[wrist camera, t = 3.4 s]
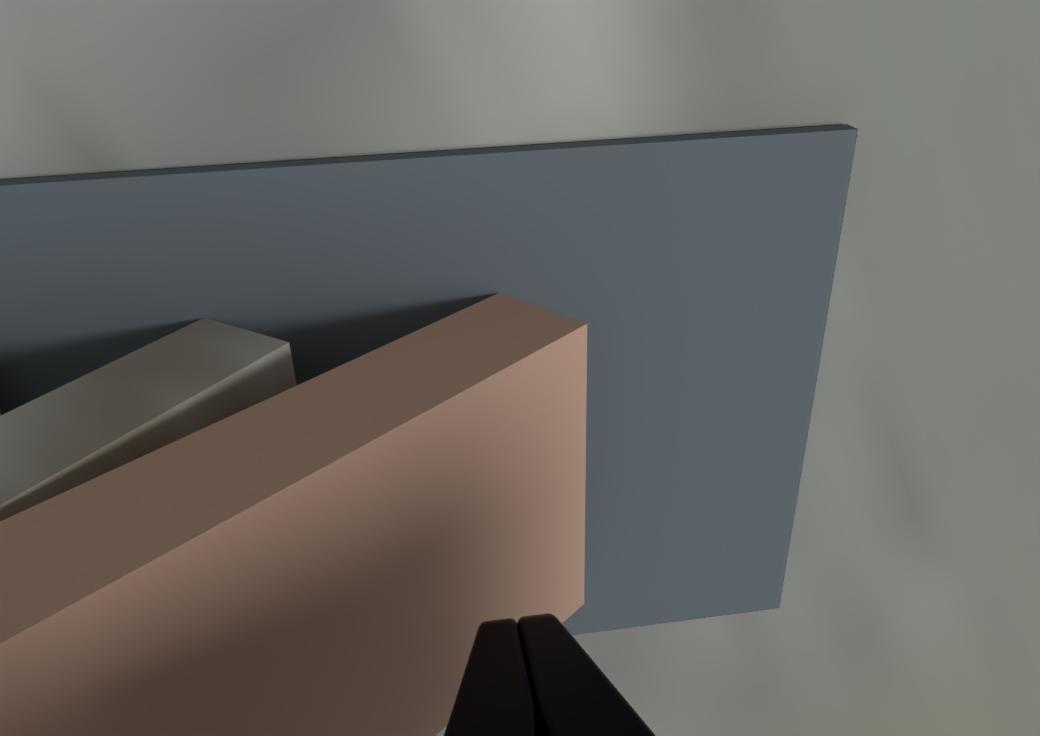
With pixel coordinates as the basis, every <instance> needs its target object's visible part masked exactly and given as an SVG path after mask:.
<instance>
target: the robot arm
mask: <svg viewBox="0 0 1040 736" xmlns="http://www.w3.org/2000/svg"><path fill="white" fill-rule="evenodd" d="M444 736H655V734H654V733H653V732H652V731H651V730H650V729H649V727H648V726H647V725H646V724H645V723H644V721H643V720H642V719H641V718H640V717H639V715H638V714H637V713H636V712H635V711H634V709H633V708H632V707H631V706H630V705H629V703H628V702H627V701H626V700H625V699H624V697H623V696H622V695H621V694H620V693H619V691H618V690H617V689H616V688H615V687H614V685H613V684H612V683H611V682H610V681H609V679H608V678H607V677H606V676H605V675H604V673H603V672H602V671H601V670H600V669H599V667H598V666H597V665H596V664H595V663H594V661H593V660H592V659H591V658H590V657H589V655H588V654H587V653H586V652H585V651H584V650H583V648H582V647H581V646H580V645H579V644H578V642H577V641H576V640H575V639H574V638H573V636H572V635H571V634H570V633H569V632H568V630H567V629H566V628H565V627H564V626H563V624H562V623H561V622H560V621H559V620H558V619H557V617H556V616H554V615H553V614H550V613H546V614H538V615H530V616H523V617H521V618H520V619H519V620H518V622H516V621H515V619H513V618H506V619H498V620H490V621H484V622H482V623H481V624H480V626H479V627H478V630H477V633H476V636H475V639H474V643H473V646H472V649H471V652H470V655H469V658H468V661H467V665H466V668H465V671H464V674H463V677H462V680H461V684H460V687H459V690H458V693H457V696H456V699H455V702H454V706H453V709H452V712H451V715H450V718H449V721H448V725H447V728H446V731H445V734H444Z"/></svg>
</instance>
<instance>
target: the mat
mask: <svg viewBox="0 0 1040 736" xmlns="http://www.w3.org/2000/svg"><path fill="white" fill-rule="evenodd" d="M857 132H858V129H857V128H854V127H852V126H850V125H848V124H845V125H829V126H814V127H799V128H783V129H768V130H753V131H737V132H722V133H707V134H691V135H676V136H661V137H645V138H630V139H615V140H599V141H584V142H569V143H553V144H538V145H523V146H507V147H492V148H477V149H461V150H446V151H431V152H415V153H400V154H385V155H369V156H354V157H339V158H324V159H308V160H293V161H278V162H262V163H247V164H232V165H216V166H201V167H186V168H170V169H155V170H140V171H124V172H109V173H94V174H78V175H63V176H48V177H32V178H17V179H2V180H0V411H1V414H2V415H3V414H5V413H7V412H9V411H11V410H13V409H16V408H18V407H20V406H22V405H24V404H26V403H28V402H30V401H32V400H34V399H36V398H38V397H40V396H42V395H45V394H47V393H49V392H51V391H53V390H55V389H57V388H59V387H61V386H63V385H65V384H67V383H69V382H72V381H74V380H76V379H78V378H80V377H82V376H84V375H86V374H88V373H90V372H92V371H94V370H96V369H99V368H101V367H103V366H105V365H107V364H109V363H111V362H113V361H115V360H117V359H119V358H121V357H123V356H126V355H128V354H130V353H132V352H134V351H136V350H138V349H140V348H142V347H144V346H146V345H148V344H150V343H152V342H155V341H157V340H159V339H161V338H163V337H165V336H167V335H169V334H171V333H173V332H175V331H177V330H179V329H182V328H184V327H186V326H188V325H190V324H192V323H194V322H196V321H198V320H200V319H202V318H208V319H211V320H214V321H218V322H221V323H225V324H228V325H232V326H235V327H238V328H242V329H245V330H249V331H252V332H256V333H259V334H262V335H266V336H269V337H273V338H276V339H279V340H283V341H286V342H289V345H290V350H291V356H292V361H293V367H294V372H295V378H296V383H297V385H299V384H301V383H304V382H306V381H308V380H310V379H312V378H314V377H317V376H319V375H321V374H323V373H325V372H328V371H330V370H332V369H334V368H336V367H338V366H341V365H343V364H345V363H347V362H349V361H352V360H354V359H356V358H358V357H360V356H362V355H365V354H367V353H369V352H371V351H373V350H376V349H378V348H380V347H382V346H384V345H386V344H389V343H391V342H393V341H395V340H397V339H400V338H402V337H404V336H406V335H408V334H410V333H413V332H415V331H417V330H419V329H421V328H424V327H426V326H428V325H430V324H432V323H434V322H437V321H439V320H441V319H443V318H445V317H448V316H450V315H452V314H454V313H456V312H458V311H461V310H463V309H465V308H467V307H469V306H472V305H474V304H476V303H478V302H480V301H482V300H485V299H487V298H489V297H491V296H493V295H496V294H498V293H502V294H505V295H508V296H510V297H513V298H516V299H519V300H522V301H525V302H527V303H530V304H533V305H536V306H539V307H542V308H545V309H547V310H550V311H553V312H556V313H559V314H562V315H564V316H567V317H570V318H573V319H576V320H579V321H581V322H584V323H587V399H586V488H585V578H584V604H583V605H582V606H581V607H580V608H579V609H578V610H577V611H576V612H574V613H573V614H572V615H571V616H570V617H569V618H568V619H567V620H565V621H564V622H563V623H562V624H563V626H564V627H565V628H566V629H567V630H568V632H569V633H570V634H571V635H577V634H584V633H592V632H599V631H607V630H615V629H622V628H630V627H638V626H645V625H653V624H660V623H668V622H676V621H683V620H691V619H698V618H706V617H714V616H721V615H729V614H737V613H744V612H752V611H759V610H767V609H775V608H779V606H780V599H781V593H782V587H783V581H784V575H785V569H786V563H787V557H788V551H789V545H790V539H791V533H792V527H793V520H794V514H795V508H796V502H797V496H798V490H799V484H800V478H801V472H802V466H803V460H804V454H805V448H806V441H807V435H808V429H809V423H810V417H811V411H812V405H813V399H814V393H815V387H816V381H817V375H818V369H819V362H820V356H821V350H822V344H823V338H824V332H825V326H826V320H827V314H828V308H829V302H830V296H831V290H832V284H833V277H834V271H835V265H836V259H837V253H838V247H839V241H840V235H841V229H842V223H843V217H844V211H845V205H846V198H847V192H848V186H849V180H850V174H851V168H852V162H853V156H854V150H855V144H856V138H857Z"/></svg>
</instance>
